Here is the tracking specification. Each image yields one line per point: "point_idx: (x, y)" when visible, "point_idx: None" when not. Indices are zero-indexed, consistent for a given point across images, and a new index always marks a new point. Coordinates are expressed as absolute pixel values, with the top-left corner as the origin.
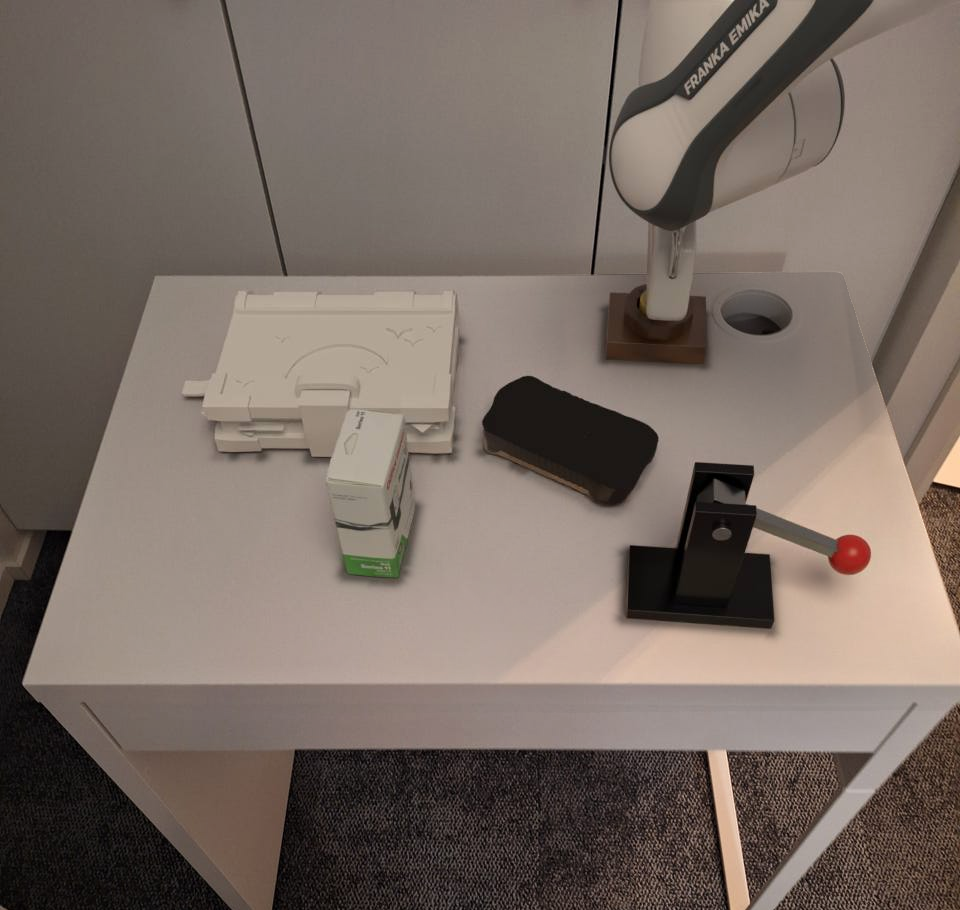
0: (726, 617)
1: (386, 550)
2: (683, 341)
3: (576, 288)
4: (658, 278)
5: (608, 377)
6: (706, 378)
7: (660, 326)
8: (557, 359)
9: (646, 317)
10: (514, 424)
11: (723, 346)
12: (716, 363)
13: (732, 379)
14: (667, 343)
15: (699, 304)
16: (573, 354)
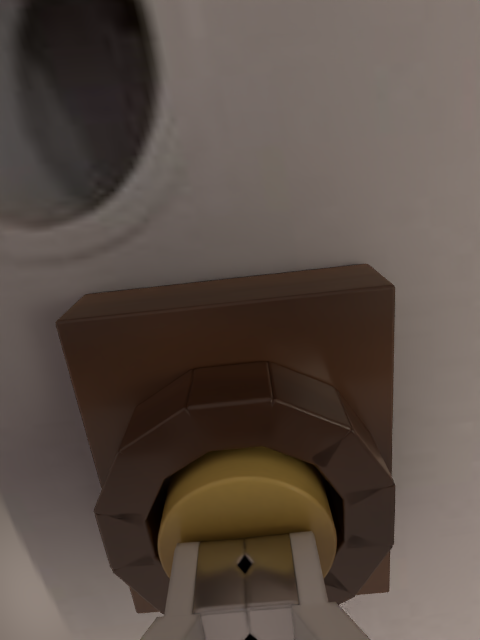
0: None
1: None
2: (368, 379)
3: (81, 628)
4: None
5: (443, 518)
6: (442, 246)
7: (394, 511)
8: (377, 625)
9: (341, 561)
10: None
11: (255, 198)
12: (357, 216)
13: (446, 145)
14: (385, 431)
15: (118, 342)
16: (354, 599)
